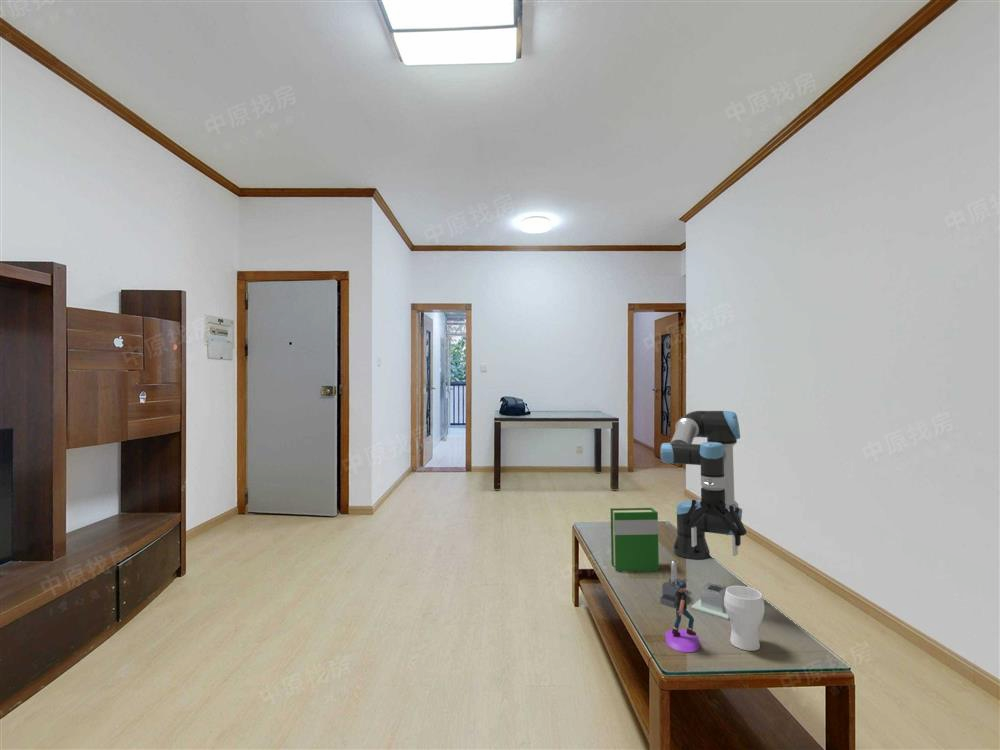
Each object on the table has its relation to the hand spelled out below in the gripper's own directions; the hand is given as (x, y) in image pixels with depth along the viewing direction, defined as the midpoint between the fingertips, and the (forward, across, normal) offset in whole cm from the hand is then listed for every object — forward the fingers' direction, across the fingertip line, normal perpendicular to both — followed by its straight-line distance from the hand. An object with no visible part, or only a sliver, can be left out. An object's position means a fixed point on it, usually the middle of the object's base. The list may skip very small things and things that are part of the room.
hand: (714, 550), depth 165 cm
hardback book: (+20, -38, +14) cm, 45 cm away
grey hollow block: (+19, 0, 0) cm, 19 cm away
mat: (+19, 0, 0) cm, 19 cm away
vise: (+20, -13, -2) cm, 23 cm away
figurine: (+19, +1, -30) cm, 36 cm away
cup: (+19, +15, -18) cm, 30 cm away
